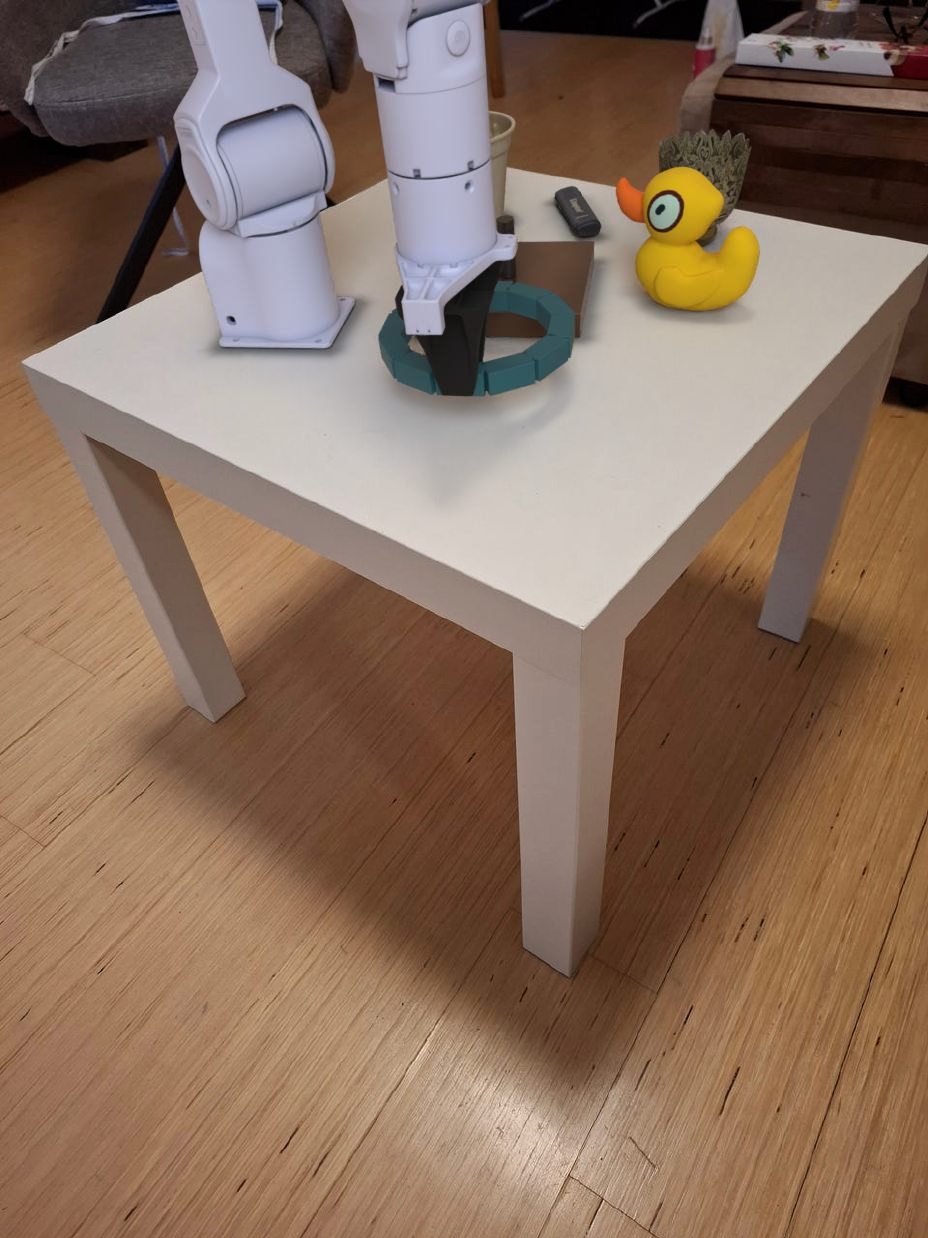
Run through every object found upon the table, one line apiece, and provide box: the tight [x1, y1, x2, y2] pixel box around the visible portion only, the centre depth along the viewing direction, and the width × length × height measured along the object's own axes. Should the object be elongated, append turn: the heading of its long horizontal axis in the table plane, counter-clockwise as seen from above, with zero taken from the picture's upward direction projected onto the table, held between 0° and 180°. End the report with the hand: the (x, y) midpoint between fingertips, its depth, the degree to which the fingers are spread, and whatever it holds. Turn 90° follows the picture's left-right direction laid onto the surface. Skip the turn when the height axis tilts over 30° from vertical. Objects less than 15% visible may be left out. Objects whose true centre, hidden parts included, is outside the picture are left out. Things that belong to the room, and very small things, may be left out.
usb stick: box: [553, 185, 602, 238], centre depth 82 cm, size 10×3×2 cm, turn 8°
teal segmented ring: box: [377, 281, 576, 397], centre depth 60 cm, size 13×13×2 cm
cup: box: [658, 128, 752, 247], centre depth 75 cm, size 8×7×8 cm
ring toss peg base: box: [486, 214, 595, 338], centre depth 71 cm, size 13×13×6 cm
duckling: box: [615, 167, 761, 312], centre depth 66 cm, size 11×5×10 cm, turn 58°
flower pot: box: [489, 110, 516, 230], centre depth 81 cm, size 9×9×9 cm
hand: (461, 384), depth 57 cm, fingers closed on teal segmented ring, 1 cm apart
